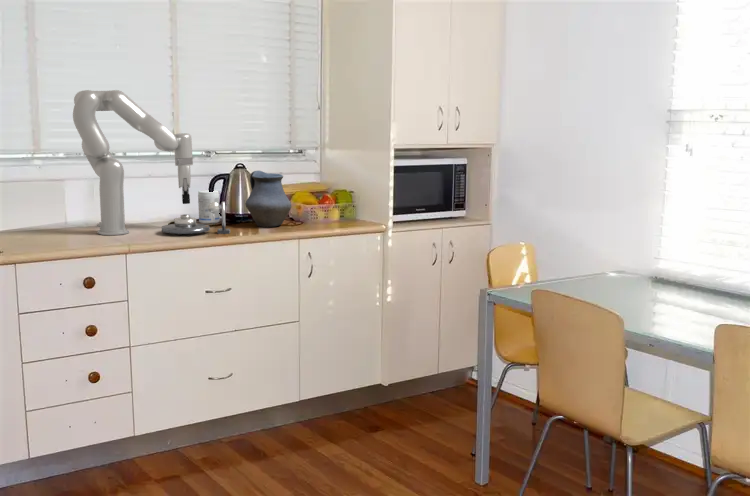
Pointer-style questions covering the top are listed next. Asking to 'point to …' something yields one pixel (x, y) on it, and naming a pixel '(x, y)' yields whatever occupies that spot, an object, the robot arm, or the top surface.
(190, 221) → the cast cover
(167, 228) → the turntable
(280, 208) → the pitcher
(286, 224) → the top surface
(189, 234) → the turntable base
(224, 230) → the dial indicator
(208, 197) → the supplement tub
